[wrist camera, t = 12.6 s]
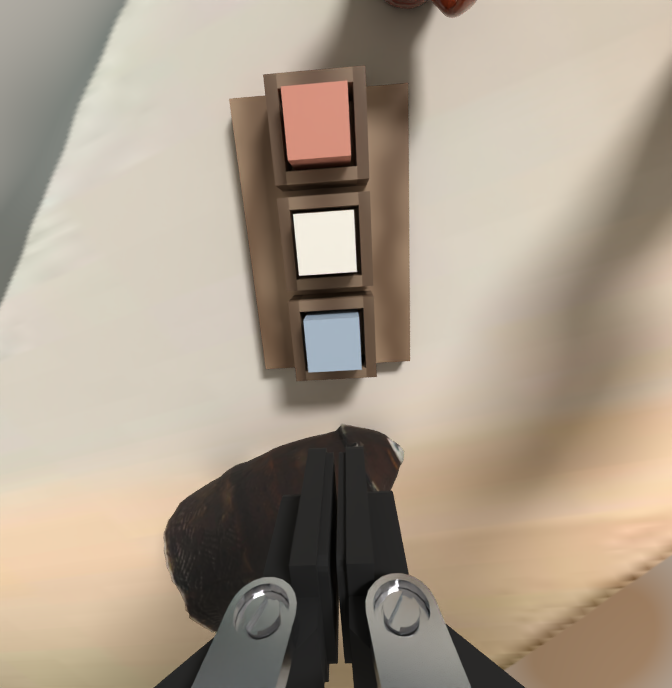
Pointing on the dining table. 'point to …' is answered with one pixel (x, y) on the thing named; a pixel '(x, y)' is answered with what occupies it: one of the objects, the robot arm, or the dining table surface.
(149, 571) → the dining table surface
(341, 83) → the brick key
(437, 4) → the mug
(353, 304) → the keypad
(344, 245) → the ivory key
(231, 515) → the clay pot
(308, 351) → the slate key
